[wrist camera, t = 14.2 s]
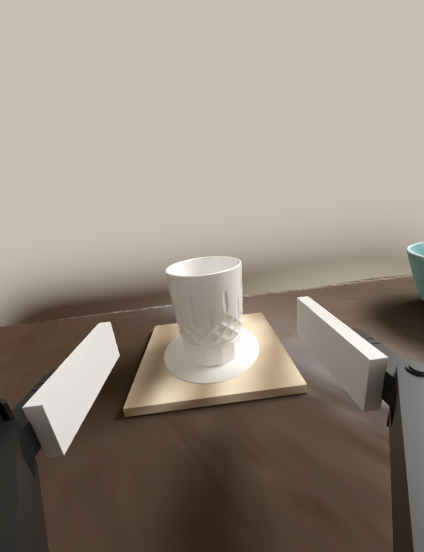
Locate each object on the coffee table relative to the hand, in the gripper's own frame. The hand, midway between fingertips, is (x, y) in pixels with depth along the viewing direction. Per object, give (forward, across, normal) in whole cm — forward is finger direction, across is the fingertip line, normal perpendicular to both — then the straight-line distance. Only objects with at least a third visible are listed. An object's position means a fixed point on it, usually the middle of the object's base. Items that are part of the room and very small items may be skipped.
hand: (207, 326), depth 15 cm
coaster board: (+8, 0, -8) cm, 12 cm away
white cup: (+8, 0, -8) cm, 11 cm away
